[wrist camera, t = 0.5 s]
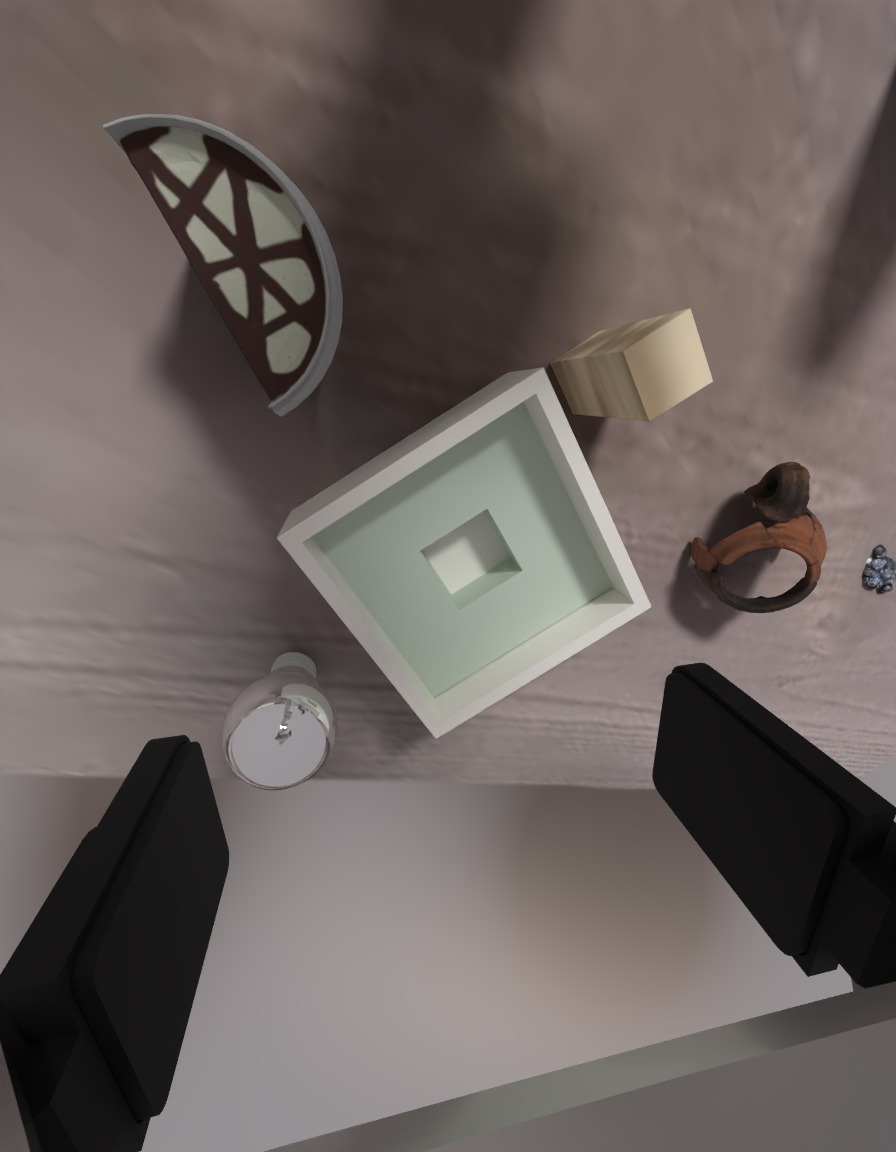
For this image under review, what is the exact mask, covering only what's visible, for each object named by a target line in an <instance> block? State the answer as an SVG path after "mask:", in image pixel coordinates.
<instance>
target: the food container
mask: <svg viewBox="0 0 896 1152" xmlns="http://www.w3.org/2000/svg"><path fill="white" fill-rule="evenodd" d="M102 126H103V127H104V129H105V130H106V131H107V132H108V133H109V134H110V136H111V137H112V138H113V139H114V140H115V141H116V142H117V144H118V145H119V146H120V147H121V148H122V149H123V151H124V152H125V153H126V154H127V156H128V158H129V160H130V162H131V164H132V165H133V167H134V168H135V169H136V171H137V172H138V174H139V175H140V177H141V179H142V180H143V182H144V184H145V185H146V187H147V189H148V190H149V192H150V194H151V196H152V197H153V199H154V201H155V203H156V204H157V206H158V208H159V210H160V211H161V213H162V215H163V216H164V218H165V220H166V222H167V223H168V225H169V227H170V229H171V230H172V232H173V234H174V235H175V237H176V239H177V241H178V242H179V244H180V246H181V248H182V249H183V251H184V253H185V255H186V256H187V258H188V260H189V262H190V264H191V265H192V267H193V269H194V271H195V272H196V274H197V276H198V278H199V280H200V281H201V283H202V285H203V286H204V288H205V290H206V291H207V293H208V295H209V296H210V298H211V300H212V301H213V303H214V305H215V306H216V308H217V310H218V311H219V313H220V314H221V316H222V318H223V320H224V321H225V323H226V325H227V326H228V328H229V330H230V332H231V333H232V335H233V337H234V339H235V340H236V342H237V344H238V345H239V347H240V349H241V350H242V352H243V354H244V356H245V357H246V359H247V361H248V362H249V364H250V366H251V368H252V369H253V371H254V373H255V374H256V376H257V378H258V380H259V381H260V383H261V385H262V386H263V388H264V390H265V391H266V393H267V395H268V396H269V398H270V400H271V401H272V402H271V403H270V404H269V406H268V407H269V408H272V410H273V412H274V413H275V414H277V415H279V416H280V417H282V416H283V415H285V414H286V413H288V412H290V411H291V410H293V409H294V408H296V407H297V406H298V405H299V404H300V403H301V402H303V401H304V400H305V399H306V398H307V397H308V396H309V395H310V394H311V393H312V392H313V390H314V389H315V388H316V387H317V385H318V384H319V383H320V381H321V380H322V379H323V377H324V375H325V373H326V371H327V370H328V368H329V366H330V364H331V362H332V359H333V357H334V354H335V351H336V348H337V345H338V342H339V336H340V331H341V325H342V311H343V296H342V287H341V278H340V273H339V269H338V265H337V261H336V257H335V253H334V251H333V248H332V246H331V243H330V241H329V238H328V236H327V233H326V231H325V229H324V227H323V225H322V224H321V222H320V220H319V218H318V216H317V215H316V213H315V211H314V209H313V208H312V206H311V205H310V203H309V202H308V201H307V199H306V198H305V197H304V195H303V194H302V193H301V191H300V190H299V189H298V187H297V186H296V185H295V184H294V183H293V182H292V181H291V180H290V179H289V178H288V177H287V176H286V175H285V174H284V173H283V172H282V171H281V170H280V169H279V168H278V167H277V166H276V165H275V164H274V163H273V162H272V161H271V160H269V159H268V158H267V157H266V156H264V155H263V154H262V153H261V152H259V151H258V150H257V149H255V148H254V147H253V146H252V145H250V144H249V143H247V142H246V141H244V140H242V139H240V138H239V137H237V136H235V135H234V134H232V133H230V132H228V131H227V130H224V129H222V128H219V127H217V126H214V125H212V124H209V123H207V122H204V121H202V120H197V119H193V118H188V117H183V116H179V115H163V114H143V115H137V116H130V117H124V118H120V119H118V120H115V121H112V122H110V123H107V124H104V125H102Z"/></svg>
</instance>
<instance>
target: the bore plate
mask: <svg viewBox="0 0 896 1152" xmlns="http://www.w3.org/2000/svg"><path fill="white" fill-rule="evenodd" d="M483 511H484V513H485V514H486V516H487V518H488V520H489V521H490V523H491V525H492V527H493V528H494V530H495V532H496V534H497V535H498V537H499V539H500V541H501V542H502V544H503V546H504V548H505V549H506V551H507V553H508V555H509V556H510V558H509V559H507V560H506V561H504V562H503V563H501V564H499V565H498V566H496V567H495V568H493V569H491V570H490V571H488V572H487V573H485V574H483V575H482V576H480V577H479V578H477V579H475V580H474V581H472V582H471V583H469V584H467V585H466V586H464V587H463V588H461V589H459V590H458V591H456V592H455V593H453V594H450V592H449V590H448V589H447V587H446V586H445V584H444V583H443V581H442V580H441V578H440V577H439V575H438V574H437V572H436V571H435V569H434V568H433V566H432V565H431V563H430V562H429V560H428V558H427V557H426V555H425V554H424V552H423V551H422V549H424V548H425V547H427V546H429V545H430V544H432V543H433V542H435V541H436V540H438V539H440V538H441V537H443V536H444V535H446V534H448V533H449V532H451V531H452V530H454V529H456V528H457V527H459V526H460V525H462V524H463V523H465V522H467V521H468V520H470V519H471V518H473V517H475V516H476V515H478V514H479V513H481V512H483ZM312 537H313V539H314V540H315V541H316V543H317V544H318V545H319V547H320V548H321V549H322V551H323V552H324V553H325V555H326V556H327V557H328V558H329V560H330V561H331V562H332V564H333V565H334V566H335V568H336V569H337V570H338V572H339V573H340V574H341V576H342V577H343V578H344V580H345V581H346V582H347V584H348V585H349V586H350V588H351V589H352V590H353V592H354V593H355V594H356V595H357V597H358V598H359V599H360V601H361V602H362V603H363V605H364V606H365V607H366V609H367V610H368V611H369V613H370V614H371V615H372V617H373V618H374V619H375V621H376V622H377V623H378V625H379V626H380V627H381V629H382V630H383V631H384V633H385V634H386V635H387V636H388V638H389V639H390V640H391V642H392V643H393V644H394V646H395V647H396V648H397V650H398V651H399V652H400V654H401V655H402V656H403V658H404V659H405V660H406V662H407V663H408V664H409V666H410V667H411V668H412V670H413V671H414V672H415V673H416V675H417V676H418V677H419V679H420V680H421V681H422V683H423V684H424V685H425V687H426V688H427V689H428V691H429V692H430V693H431V695H432V696H433V697H435V696H437V695H438V694H440V693H442V692H443V691H445V690H447V689H448V688H450V687H451V686H453V685H455V684H456V683H458V682H460V681H461V680H463V679H464V678H466V677H468V676H469V675H471V674H473V673H474V672H476V671H477V670H479V669H481V668H482V667H484V666H485V665H487V664H489V663H490V662H492V661H494V660H495V659H497V658H498V657H500V656H502V655H503V654H505V653H507V652H508V651H510V650H511V649H513V648H515V647H516V646H518V645H520V644H521V643H523V642H524V641H526V640H528V639H529V638H531V637H533V636H534V635H536V634H537V633H539V632H541V631H542V630H544V629H545V628H547V627H549V626H550V625H552V624H554V623H555V622H557V621H558V620H560V619H562V618H563V617H565V616H567V615H568V614H570V613H571V612H573V611H575V610H576V609H578V608H580V607H581V606H583V605H584V604H586V603H588V602H589V601H591V600H593V599H594V598H596V597H597V596H599V595H601V594H602V593H604V592H605V591H607V590H609V589H610V588H612V584H611V582H610V580H609V578H608V576H607V574H606V572H605V570H604V568H603V566H602V564H601V562H600V560H599V557H598V555H597V553H596V551H595V549H594V547H593V545H592V543H591V541H590V539H589V537H588V535H587V533H586V531H585V528H584V526H583V524H582V522H581V520H580V518H579V516H578V514H577V512H576V510H575V508H574V506H573V504H572V501H571V499H570V497H569V495H568V493H567V491H566V489H565V487H564V485H563V483H562V481H561V479H560V477H559V474H558V472H557V470H556V468H555V466H554V464H553V462H552V460H551V458H550V456H549V454H548V452H547V450H546V447H545V445H544V443H543V441H542V439H541V437H540V435H539V433H538V431H537V429H536V427H535V425H534V423H533V420H532V418H531V416H530V414H529V412H528V410H527V408H526V406H525V404H524V402H522V403H520V404H519V405H517V406H516V407H514V408H512V409H511V410H509V411H508V412H506V413H505V414H503V415H501V416H500V417H498V418H497V419H495V420H494V421H492V422H490V423H489V424H487V425H486V426H484V427H483V428H481V429H479V430H478V431H476V432H475V433H473V434H472V435H470V436H468V437H467V438H465V439H464V440H462V441H461V442H459V443H457V444H456V445H454V446H453V447H451V448H450V449H448V450H446V451H445V452H443V453H442V454H440V455H439V456H437V457H435V458H434V459H432V460H431V461H429V462H428V463H426V464H424V465H423V466H421V467H420V468H418V469H417V470H415V471H413V472H412V473H410V474H409V475H407V476H406V477H404V478H402V479H401V480H399V481H398V482H396V483H395V484H393V485H391V486H390V487H388V488H387V489H385V490H384V491H382V492H380V493H379V494H377V495H376V496H374V497H373V498H371V499H369V500H368V501H366V502H365V503H363V504H362V505H360V506H358V507H357V508H355V509H354V510H352V511H351V512H349V513H347V514H346V515H344V516H343V517H341V518H340V519H338V520H337V521H335V522H333V523H332V524H330V525H329V526H327V527H326V528H324V529H322V530H321V531H319V532H318V533H316V534H315V535H313V536H312Z"/></svg>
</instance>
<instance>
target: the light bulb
mask: <svg viewBox="0 0 896 1152" xmlns="http://www.w3.org/2000/svg"><path fill="white" fill-rule="evenodd" d="M316 673H317V671H316V666H315V664H314V662H313V661H312V660H311V659H310V658H309V657H308V656H307V655H305V654H303V653H299V652H289V653H285V654H283V655H281V656H279V657H278V658H277V659H276V660H275V661H274V663H273V665H272V669H271V672H270V674H269V675H268V676H266V677H264V678H261V679H259V680H257V681H255V682H253V683H252V684H250V685H249V686H248V687H246V688H245V689H244V690H243V691H242V692H241V693H240V694H239V695H238V696H237V697H236V698H235V699H234V701H233V703H232V704H231V706H230V708H229V710H228V711H227V713H226V716H225V719H224V722H223V727H222V734H221V742H222V749H223V753H224V756H225V758H226V760H227V762H228V764H229V766H230V768H231V770H232V771H233V772H234V773H235V774H236V775H237V776H238V777H239V778H240V779H242V780H243V781H244V782H246V783H248V784H250V785H252V786H254V787H257V788H260V789H265V790H282V789H287V788H290V787H294V786H296V785H298V784H301V783H303V782H305V781H306V780H308V779H309V778H311V777H312V776H313V775H314V774H315V773H316V772H317V771H318V770H319V769H320V768H321V767H322V766H323V765H324V764H325V763H326V761H327V760H328V758H329V756H330V754H331V752H332V750H333V748H334V745H335V742H336V737H337V730H338V723H337V714H336V710H335V707H334V705H333V702H332V700H331V698H330V697H329V695H328V694H327V692H326V691H325V690H324V689H323V688H322V687H321V686H320V685H318V684H317V682H316Z"/></svg>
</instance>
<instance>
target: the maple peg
mask: <svg viewBox="0 0 896 1152" xmlns="http://www.w3.org/2000/svg"><path fill="white" fill-rule="evenodd" d="M550 364H551V366H552V368H553V371H554V373H555V375H556V377H557V380H558V382H559V384H560V386H561V389H562V391H563V393H564V395H565V398H566V400H567V402H568V404H569V407H570V409H571V411H572V413H573V414H577V415H588V416H599V417H609V418H620V419H631V420H641V421H651V420H652V419H654V418H655V417H657V416H659V415H660V414H662V413H663V412H665V411H667V410H668V409H670V408H671V407H673V406H674V405H676V404H678V403H679V402H681V401H682V400H684V399H686V398H687V397H689V396H690V395H692V394H694V393H695V392H697V391H698V390H700V389H701V388H703V387H705V386H706V385H708V384H709V383H711V382H713V380H712V377H711V373H710V370H709V367H708V364H707V360H706V357H705V354H704V351H703V347H702V344H701V341H700V338H699V334H698V331H697V328H696V325H695V322H694V318H693V315H692V312H691V309H686V310H682V311H678V312H674V313H670V314H666V315H662V316H658V317H654V318H650V319H646V320H642V321H638V322H634V323H630V324H626V325H622V326H618V327H614V328H610V329H606V330H602V331H599V332H597V333H596V334H594V335H592V336H591V337H589V338H588V339H586V340H585V341H583V342H581V343H580V344H578V345H577V346H575V347H574V348H572V349H570V350H569V351H567V352H566V353H564V354H563V355H561V356H560V357H558V358H556V359H555V360H553V361H552V362H550Z"/></svg>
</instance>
